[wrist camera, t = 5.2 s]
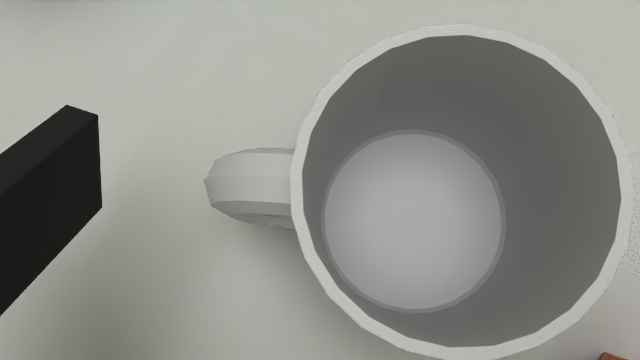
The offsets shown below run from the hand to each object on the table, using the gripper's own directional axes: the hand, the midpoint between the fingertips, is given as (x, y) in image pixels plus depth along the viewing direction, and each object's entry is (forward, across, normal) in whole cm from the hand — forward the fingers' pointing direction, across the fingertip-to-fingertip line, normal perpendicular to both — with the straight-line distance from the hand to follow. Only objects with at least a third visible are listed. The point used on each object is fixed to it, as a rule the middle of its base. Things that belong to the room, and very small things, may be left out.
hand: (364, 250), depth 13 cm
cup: (+7, 0, -5) cm, 8 cm away
